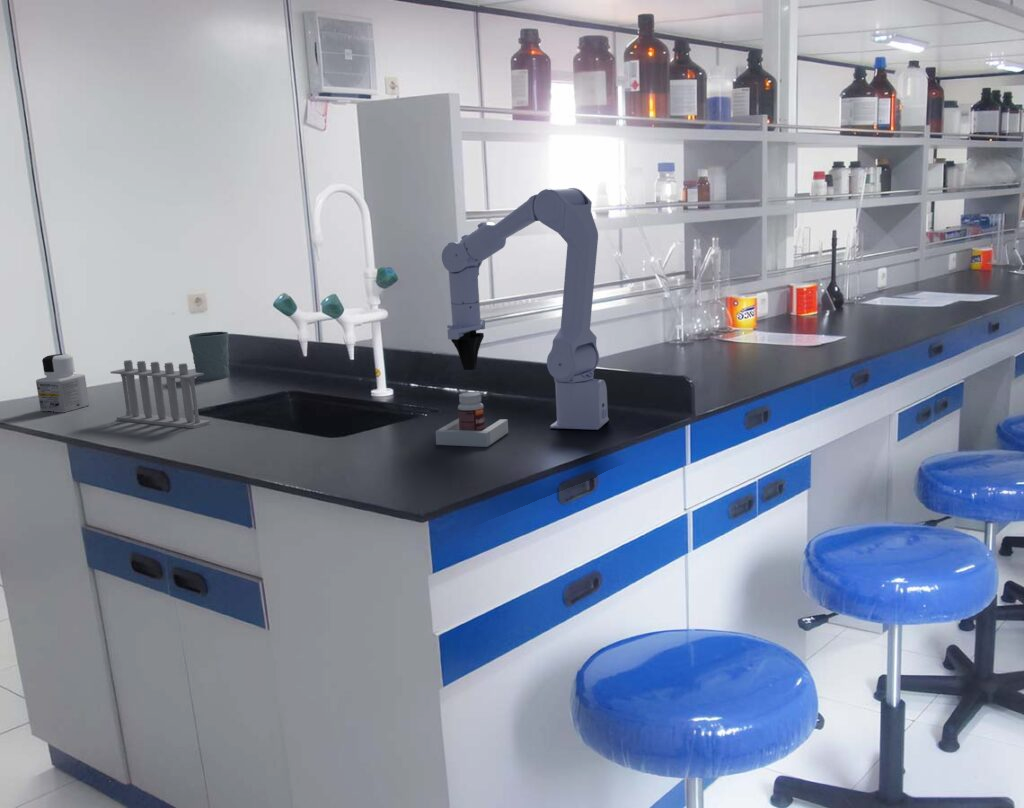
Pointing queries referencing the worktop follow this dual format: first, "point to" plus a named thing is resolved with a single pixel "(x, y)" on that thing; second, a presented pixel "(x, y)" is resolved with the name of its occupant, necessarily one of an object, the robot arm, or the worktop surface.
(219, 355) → the dark green cup
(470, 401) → the pill bottle
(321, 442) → the worktop surface
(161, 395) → the test tube rack
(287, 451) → the worktop surface
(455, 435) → the square dock
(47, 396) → the container
